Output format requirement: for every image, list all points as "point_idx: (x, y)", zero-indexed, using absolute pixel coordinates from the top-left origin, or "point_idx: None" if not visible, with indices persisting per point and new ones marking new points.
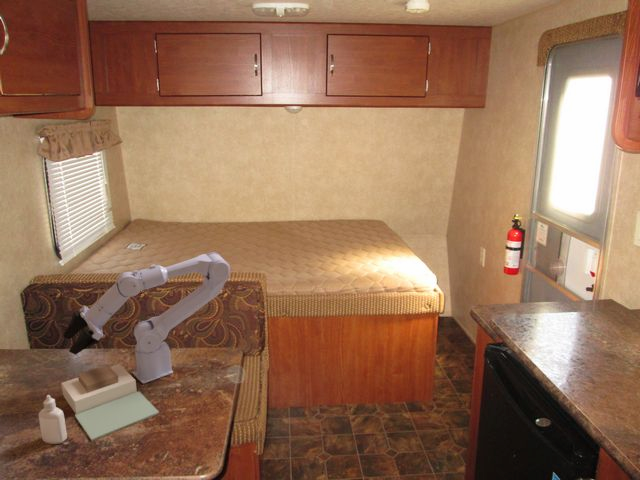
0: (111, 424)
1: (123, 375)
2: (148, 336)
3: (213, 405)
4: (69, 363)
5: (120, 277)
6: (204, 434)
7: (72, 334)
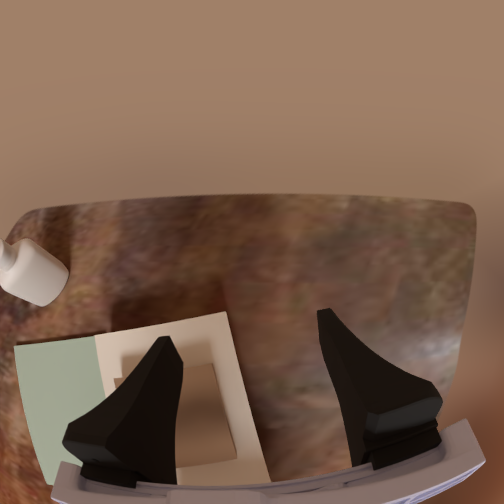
0: (36, 394)
1: (182, 484)
2: None
3: None
4: (403, 333)
5: None
6: None
7: (328, 361)
